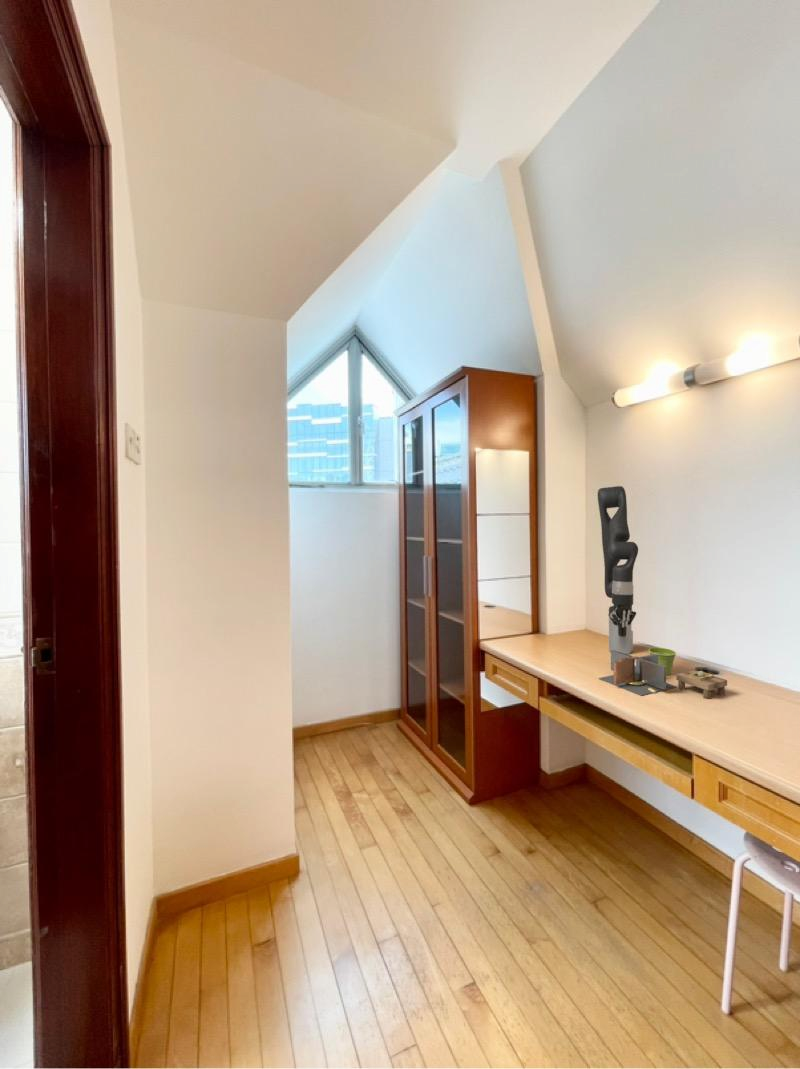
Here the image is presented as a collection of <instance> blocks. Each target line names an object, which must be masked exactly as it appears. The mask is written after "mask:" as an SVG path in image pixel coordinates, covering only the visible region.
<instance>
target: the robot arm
mask: <svg viewBox="0 0 800 1069" xmlns="http://www.w3.org/2000/svg"><path fill="white" fill-rule="evenodd" d="M597 503H598V511H599V516H600V527H601V542H602V544H601V545H602V552H603V562H604V592H605V595H606V597H607V598H610V599H611V604H612V606H609V607H608V651H609V652H611V650H614V651H618V652H621V653H624V654H627V655H629V654H631V653H632V652H633V651H634V631H633V630H632V624H633V620H634V619H635V617H636V616H637V612H636V611H633V605H634V581H633V580H634V575H633V574H634V567H635V563H636V560H637V557H638V554H639V547H638V545H637V543H636V542H634V541H629V540H630V537H631V534H630V530H629V524H628V504H627V493H626V489H625V488H624V486H620V485H619V486H618V485H617V486H610V487H608V486H607V487H601V488H599V489H598V490H597ZM612 508H613V509H615V508H618V509H617V510H616V512H615V513H614V514H613V516H612V517H611V516H610V514H609V512H608V509H612ZM621 560H623V561H624V560H625V563H624V564H620V565H619V563H620V562H621Z"/></svg>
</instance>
